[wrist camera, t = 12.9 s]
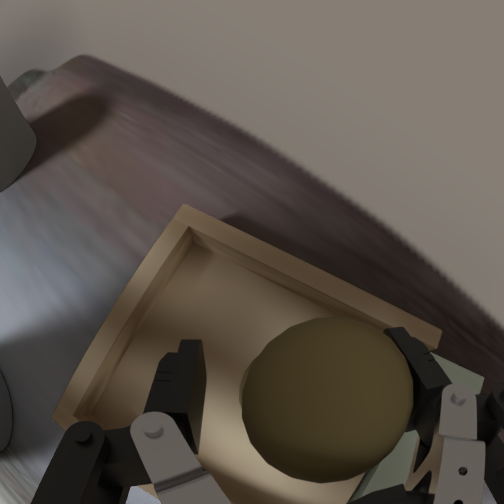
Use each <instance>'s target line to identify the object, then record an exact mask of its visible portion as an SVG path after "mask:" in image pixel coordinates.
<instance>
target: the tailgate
mask: <svg viewBox="0 0 504 504" xmlns="http://www.w3.org/2000/svg"><path fill="white" fill-rule="evenodd" d="M430 354H432V355H433V357H434V358H435V361H437V362H438V363H439V365H440V366H441V368H442V369H443V370H444V372H445V373H446V375H447V376H448V378H449V379H450V380H451V382H452V383H453V384H455V383H457V384H463V385H465V386H467V387H469V388H470V389H471V390H472V391H473V392H474V394H480V391H481V388H482V385H483V381H484V377H482V376H480V375H478V374H476V373H474V372H471V371H469V370H467V369H465V368H463V367H461V366H459V365H457V364H454V363H452V362H450V361H448V360H446V359H444V358H442V357H440V356H438V355H436V354H433V353H431V352H430ZM418 436H419V435H418V433H417V431H416V430H414V431H410V432H406V433H405V432H404V434H403V436H402V437H401V439H400V440H399V442H398V444H397V445H396V447H395V448H394V450H393V451H392V452H391V453H390V454H389V455H388V456H387V457H386V458H384V459H383V460H382V461H381V462H380V463H379V464H378V465H376V466H375V467H374V468H373V469H371V470H369V471H367V472H366V474H365V475H364V477H363V479H362V480H361V482H360V484H359V485H358V487H357V489H356V490H355V492H354V494H353V495H352V497H351V498H350V500H349V501H348V503H349V502H352V501H354V500H356V499H358V498H361V497H363V496H365V495H367V494H369V493H371V492H373V491H377V490H381V489H385V488H389V487H392V486H396V485H399V484H404V485H405V483H406V481H407V479H408V475H409V471H410V467H411V463H412V459H413V454H414V449H415V445H416V440H417V438H418Z"/></svg>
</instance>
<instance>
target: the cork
mask: <svg viewBox="0 0 504 504" xmlns="http://www.w3.org/2000/svg"><path fill="white" fill-rule="evenodd" d="M239 402H240V405H241V408H242V420H243V423H244V426H245V429H246V432H247V435H248V438H249V441H250V443H251V444H252V446H253V447H254V448H255V449H256V451H257V452H258V453H259V454H260V456H261V457H262V458H263V459H264V460H265V462H266V463H267V464H269V465H270V466H272V467H274V468H275V469H277V470H279V471H280V472H282V473H284V474H286V475H287V476H289V477H291V478H294V479H299V480H304V481H309V482H314V483H320V484H322V483H331V482H339V481H346V480H349V479H352V478H354V477H356V476H358V475H360V474H363V473H365V472H367V471H369V470H371V469H373V468H374V467H375V466H376V465H378V464H379V463H380V462H381V461H382V460H383V459H384V458H386V457H387V456H388V455H389V454H390V453H391V452H392V451H393V450H394V448H395V447H396V445H397V444H398V442H399V440H400V439H401V437H402V436H403V434H404V432H405V431H406V429H407V426H408V422H409V419H410V415H411V412H412V408H413V379H412V376H411V373H410V370H409V367H408V365H407V362H406V359H405V357H404V355H403V354H402V353H401V351H400V350H399V349H398V347H397V346H396V345H395V343H394V342H393V341H392V340H391V338H389V337H388V336H387V335H385V334H384V333H382V332H381V331H379V330H378V329H376V328H375V327H373V326H372V325H371V324H367V323H364V322H360V321H357V320H353V319H350V318H346V317H334V318H314V319H311V320H309V321H306V322H303V323H300V324H297V325H294V326H291V327H289V328H288V329H287V330H285V331H284V332H282V333H281V334H280V335H278V336H277V337H275V338H274V339H273V340H271V341H270V342H268V344H267V345H266V346H265V348H264V349H263V350H262V352H261V353H260V354H259V355H258V356H257V357H256V358H255V359H254V360H253V361H252V362H251V364H250V365H249V366H248V368H247V369H246V370H245V372H244V375H243V377H242V380H241V383H240V386H239Z"/></svg>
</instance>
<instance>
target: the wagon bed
mask: <svg viewBox="0 0 504 504" xmlns="http://www.w3.org/2000/svg"><path fill="white" fill-rule="evenodd" d="M334 317H346V318H350V319H353V320H357V321H360V322H364V323H367V324H371V325H372V326H373V327H375V328H376V329H378V330H379V331H381V332H382V333H383V331H384V329H386V328H394V327H404V328H405V329H406V331H407V332H408V333H409V335H410V336H411V337H415V338H417V339H418V340H419V341H421V342H422V343H424V344H425V346H426V347H427V348H428V350H429V351H430V350H434V349H437V348H438V344H439V341H440V338H441V334H442V330H440V329H438V328H437V327H435V326H433V325H431V324H429V323H427V322H425V321H423V320H421V319H419V318H417V317H415V316H413V315H411V314H409V313H407V312H405V311H403V310H401V309H399V308H397V307H395V306H393V305H391V304H389V303H387V302H385V301H383V300H381V299H379V298H377V297H375V296H373V295H371V294H369V293H367V292H365V291H363V290H361V289H359V288H357V287H355V286H353V285H351V284H349V283H347V282H345V281H343V280H341V279H339V278H337V277H335V276H333V275H331V274H329V273H327V272H325V271H323V270H321V269H319V268H317V267H315V266H313V265H311V264H309V263H307V262H305V261H303V260H301V259H299V258H296V257H294V256H292V255H290V254H288V253H286V252H284V251H282V250H280V249H278V248H276V247H274V246H272V245H270V244H268V243H266V242H264V241H262V240H259V239H257V238H255V237H253V236H251V235H249V234H247V233H245V232H243V231H241V230H239V229H237V228H234V227H232V226H230V225H228V224H226V223H224V222H222V221H220V220H218V219H216V218H214V217H211V216H209V215H207V214H205V213H203V212H201V211H199V210H197V209H195V208H192V207H190V206H188V205H186V204H183V205H182V206H181V208H180V209H179V210H178V212H177V213H176V215H175V216H174V217H173V219H172V220H171V221H170V223H169V224H168V226H167V227H166V228H165V230H164V231H163V233H162V234H161V235H160V237H159V238H158V240H157V241H156V243H155V244H154V245H153V247H152V248H151V250H150V251H149V253H148V254H147V256H146V257H145V259H144V260H143V262H142V263H141V265H140V266H139V268H138V269H137V271H136V272H135V274H134V275H133V277H132V278H131V280H130V281H129V283H128V284H127V286H126V287H125V289H124V290H123V292H122V294H121V295H120V297H119V298H118V300H117V302H116V303H115V305H114V306H113V308H112V310H111V311H110V313H109V314H108V316H107V318H106V319H105V321H104V323H103V324H102V326H101V328H100V329H99V331H98V333H97V334H96V336H95V338H94V339H93V341H92V343H91V345H90V346H89V348H88V350H87V352H86V353H85V355H84V357H83V359H82V360H81V362H80V364H79V366H78V368H77V369H76V371H75V373H74V375H73V377H72V379H71V380H70V382H69V384H68V386H67V388H66V390H65V392H64V394H63V396H62V397H61V399H60V401H59V403H58V405H57V407H56V409H55V411H54V413H53V415H52V417H51V418H52V419H53V420H54V421H56V422H57V423H58V424H59V425H60V426H61V427H62V428H63V429H64V430H65V431H66V430H67V429H68V428H69V427H70V426H71V425H73V424H74V423H77V422H80V421H92V422H95V423H97V424H98V425H100V426H101V427H102V429H103V430H110V429H119V428H124V427H127V426H130V425H132V423H133V421H134V420H135V419H136V418H137V417H139V416H140V415H142V414H143V411H144V408H145V405H146V402H147V398H148V395H149V392H150V389H151V385H152V382H153V379H154V376H155V373H156V370H157V367H158V363H159V361H160V360H161V359H162V358H163V357H164V356H165V354H166V353H167V352H176V353H177V352H178V348H179V345H180V341H181V339H201V340H202V343H203V350H204V358H205V365H206V373H207V385H206V393H205V402H204V410H203V419H202V427H201V436H200V445H199V455H196V454H194V455H195V457H196V458H197V460H198V461H199V463H200V464H201V466H202V467H203V468H204V469H206V470H207V471H208V472H209V473H210V474H211V476H212V477H213V478H214V480H215V481H216V483H217V484H218V485H219V487H220V488H221V490H222V491H223V492H224V494H225V495H226V497H227V498H228V499H229V501H230V502H231V503H232V504H346V503H347V502H348V500H349V499H350V497H351V496H352V494H353V492H354V491H355V489H356V488H357V486H358V484H359V483H360V481H361V479H362V477H363V476H364V474H365V473H363V474H360V475H358V476H356V477H354V478H352V479H349V480H346V481H339V482H331V483H322V484H320V483H314V482H309V481H304V480H299V479H294V478H291V477H289V476H287V475H286V474H284V473H282V472H280V471H279V470H277V469H275V468H274V467H272V466H270V465H269V464H267V463H266V462H265V460H264V459H263V458H262V457H261V456H260V454H259V453H258V452H257V451H256V449H255V448H254V447H253V446H252V444H251V443H250V441H249V438H248V435H247V432H246V429H245V426H244V423H243V420H242V408H241V405H240V402H239V386H240V383H241V380H242V377H243V375H244V372H245V370H246V369H247V368H248V366H249V365H250V364H251V362H252V361H253V360H254V359H255V358H256V357H257V356H258V355H259V354H260V353H261V352H262V350H263V349H264V348H265V346H266V345H267V344H268V342H270V341H271V340H273V339H274V338H275V337H277V336H278V335H280V334H281V333H282V332H284V331H285V330H287V329H288V328H289V327H291V326H294V325H297V324H300V323H303V322H306V321H309V320H311V319H314V318H334ZM138 487H140V488H141V489H143V490H145V491H146V492H148V493H149V494H151V495H153V496H154V497H156V498H158V496H157V494H156V492H155V489H154V485H153V484H146V485H139V486H138ZM158 499H159V498H158Z"/></svg>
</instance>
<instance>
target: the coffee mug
mask: <svg viewBox="0 0 504 504" xmlns="http://www.w3.org/2000/svg"><path fill="white" fill-rule="evenodd" d="M36 142H37V138H36V135H35V133H34V132H33V130H32V129H31V127H30V125H29V124H28V122H27V121H26V119H25V117H24V116H23V114H22V113H21V111H20V109H19V108H18V106H17V104H16V103H15V101H14V99H13V98H12V96H11V94H10V92H9V91H8V89H7V87H6V85H5V84H4V82H3V80H2V78H1V76H0V192H1V191H3V190H4V189H5V188H7V187H8V186H9V185H10V184H11V183H12V182H13V181H14V180H15V179H16V178H17V177H18V176H19V175H20V174H21V172H22V171H23V170H24V168H25V167H26V166H27V164H28V162H29V161H30V159H31V157H32V155H33V153H34V150H35V147H36Z"/></svg>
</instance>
